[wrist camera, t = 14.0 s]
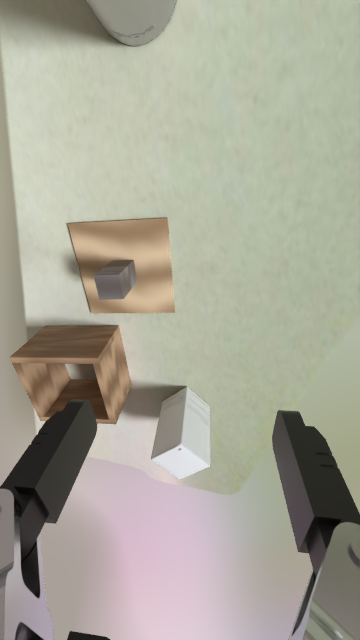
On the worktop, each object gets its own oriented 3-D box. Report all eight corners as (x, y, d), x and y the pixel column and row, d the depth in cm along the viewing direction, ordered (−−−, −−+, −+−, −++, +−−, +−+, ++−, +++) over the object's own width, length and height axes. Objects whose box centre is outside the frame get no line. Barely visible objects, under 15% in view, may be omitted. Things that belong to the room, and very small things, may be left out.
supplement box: (161, 401, 52) (148, 459, 41) (187, 385, 49) (181, 443, 38) (184, 420, 54) (178, 481, 43) (211, 406, 51) (211, 467, 40)
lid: (71, 222, 36) (38, 231, 29) (167, 217, 35) (157, 225, 28) (93, 310, 43) (71, 334, 36) (175, 309, 42) (168, 334, 35)
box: (45, 326, 45) (9, 357, 37) (118, 325, 44) (97, 358, 35) (67, 383, 52) (40, 420, 44) (131, 384, 50) (116, 424, 42)
